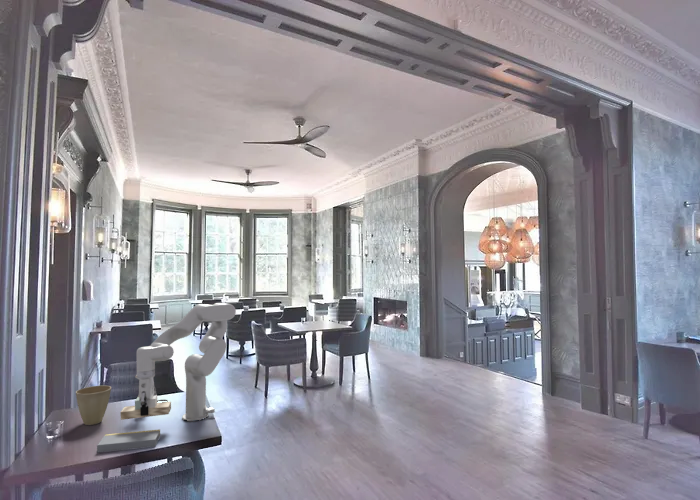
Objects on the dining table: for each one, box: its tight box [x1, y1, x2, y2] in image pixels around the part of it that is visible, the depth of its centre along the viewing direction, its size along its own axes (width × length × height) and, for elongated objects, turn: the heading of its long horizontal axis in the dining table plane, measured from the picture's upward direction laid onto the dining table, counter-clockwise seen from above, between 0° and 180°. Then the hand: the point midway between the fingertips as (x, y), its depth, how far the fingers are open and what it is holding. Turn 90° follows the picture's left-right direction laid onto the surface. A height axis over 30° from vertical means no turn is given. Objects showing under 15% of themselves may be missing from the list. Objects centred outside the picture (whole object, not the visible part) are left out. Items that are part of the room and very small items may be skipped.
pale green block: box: [134, 396, 147, 410], centre depth 190 cm, size 4×5×4 cm
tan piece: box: [120, 401, 172, 421], centre depth 190 cm, size 20×7×4 cm, turn 105°
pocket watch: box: [153, 387, 169, 402], centre depth 230 cm, size 8×8×10 cm
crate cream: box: [148, 395, 158, 408], centre depth 191 cm, size 4×5×4 cm
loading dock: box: [96, 429, 161, 453], centre depth 177 cm, size 22×11×3 cm, turn 105°
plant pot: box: [75, 385, 112, 426], centre depth 202 cm, size 15×15×16 cm
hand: (146, 411), depth 190 cm, fingers closed on tan piece, 7 cm apart
